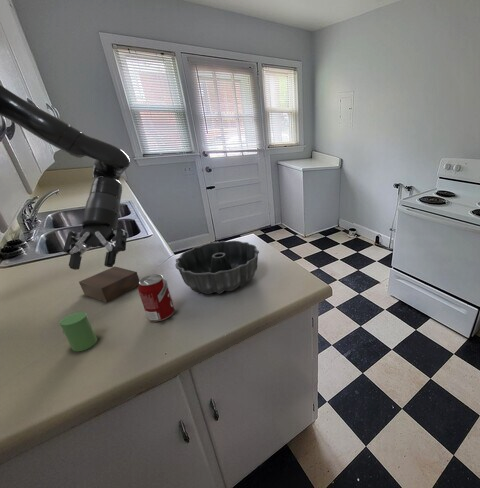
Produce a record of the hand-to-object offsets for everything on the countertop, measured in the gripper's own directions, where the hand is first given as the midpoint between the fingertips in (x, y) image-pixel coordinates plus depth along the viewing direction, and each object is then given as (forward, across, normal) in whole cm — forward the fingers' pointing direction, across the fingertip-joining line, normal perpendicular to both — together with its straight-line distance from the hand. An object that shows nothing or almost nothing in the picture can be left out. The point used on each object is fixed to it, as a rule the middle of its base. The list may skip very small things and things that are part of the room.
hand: (91, 267), depth 71 cm
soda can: (+13, +14, +10) cm, 22 cm away
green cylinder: (+19, 0, +2) cm, 19 cm away
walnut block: (+2, -8, +21) cm, 22 cm away
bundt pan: (+1, +27, +24) cm, 36 cm away
